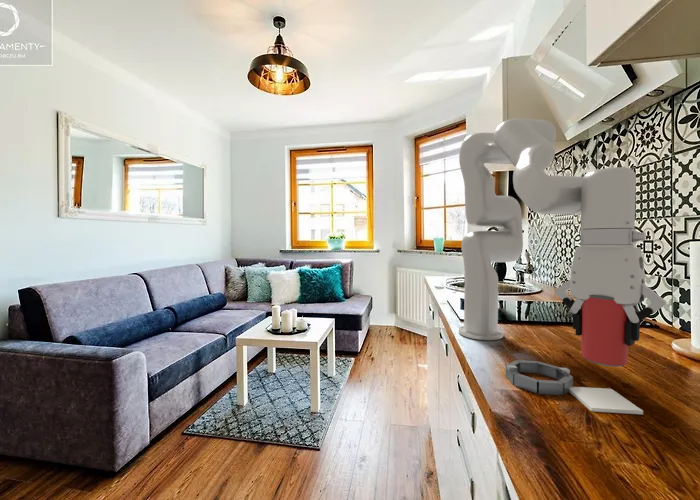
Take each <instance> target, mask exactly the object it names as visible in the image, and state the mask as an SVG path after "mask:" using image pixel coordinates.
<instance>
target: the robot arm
mask: <svg viewBox="0 0 700 500" xmlns="http://www.w3.org/2000/svg"><path fill="white" fill-rule="evenodd" d="M556 139H557V131H556V128H555V126H554V125H553V123H552V122H550V121H549V120H547V119H546V120H545V119H539V118H538V119H537V118H536V119H535V118H523V117H518V118H516V117H515V118H509V119H506V120H504V121H502V122H501V123H500V124H499V125H498V126H497V127H496V129H495V131H494V132H477V133H473V134H469V135H468V136H466V137H465V138H464V139H463V141H462V143H461V144H460V145H461V146H460V150H459V155H458V157H459V158H458V159H459V160H458V161H459V168H460V170H461V171H460V172H461V175H462V180H463V183H464V184H463V185H464V206H465V207H464V208H465V209H464V210H465V218H466V222H467V223H468V224H469V225H470V226H471V227H472V226H473V227H481V228H482V227H483V228H484V227H485V228H488V227H489V228H496V227H497V230H475V231H471V232H469V233H467V234H465V236H464V237H463V238H462V240H461V254H462V258H463V266H464V267H463V268H464V269H463V271H464V291H463V292H464V296H463V297H464V299H463V300H464V304H463V305H464V307H463V308H464V310H463V315H464V316H463V325H462V326H460V327H459V328H458V333H459V335H461V336H463V337H465V338H468V339H471V340H472V339H473V340H479V341H496V340H501V339H503V337H504V332H503V331H502V330H500V329H499V328H498V327H499V326H498V325H499V324H498V323H499V276H498V272H497V271H496V269H495V267H493V265H492V263H511V262H516V261H518V260H519V258H520V257H521V255H522V254H523V247H524V240H523V239H524V236H523V235H524V234H523V233H524V232H523V217H522V216H523V215H522V208H521V205H520V203H519V201H518V200H517V199H516V198H514V197H513V196H511V195H497V194H496V192H495V180H494V177H493V175H492V173H491V171H490V170H489V169H488V168H487V167H486V166H485V164H496V165H497V164H498V165H499V164H500V165H503V164H504V165H506V164H508V165H513V166H514V170H513V174H512V184H513V189H514V191H515V193H516V195H517V197H519V199H520V200H521V201H522V202H523V204H524V205H525V206H526V207H527V208H528V209H530V210H531V211H532V212H535V213H537V214H541V215H578V216H579V215H580V243H579V244H580V245H579V246H577V247H576V248H575V250H574V254H573V257H572V258H573V260H572V264H571V270H570V277H569V278H570V279H568V280H567V281H566V282H565V283H563V284H561V285H560V286H558V287H557V288H556V289H555V290H554V293H555V294H556V296H557V297H558V298H559V299H560V300H561V301H562V303H563V304H564V305H565V307H567V308H568V309H569V310H570V313H571V314H572V329H573V330H575V333H574V334H575V335H576V336H582V305H583V302H584V301H585V300H587V299H588V298H589V297H590V296H589V295H594V296H601V297H613V298H615V299H614V301H615V302H616V303H617V304H619V305H622V306H623V308H624V310H625V312H626V314H627V316H628V317H629V318H628V321H627V322H626V324H625V344H626V345H628V347H632V346H633V345H634V344H635V343H636V342H639V340H640V333H641V332H640V327H641V325H640V324H641V321H642V320H644V319H646V318H647V317H649V316H651V315H653V314H654V313H655V312H657V311H658V310H660V309H661V308H663V307H665V306H666V305H667V304H668V302H667V301H666V300H665V299H664V298H663V297H661V296H660V295H659V294H658V293H657V292H655V291H654V290H653V289H651V288H650V287H649V286H648V285H646V274H645V264H644V259H643V258H644V257H643V252H642V249H641V247H635V245H636V243H637V242H641V241H646V238H647V233H646V232H640V231H637V229H636V228H635V224H636V223H635V221H636V215H635V214H636V190H637V189H636V185H637V184H636V183H637V182H636V181H637V180H636V177H637V176H636V173H635V171H634V170H633V169H631V168H629V167H622V166H621V167H620V166H619V167H607V168H600V169H594V170H591V171H589V172H587V173H586V174H584V176H575V175H548V174H547V173H545V172H544V171H545V170H546V169H547V168H549V166H550V164H552V162H553V160H554V158H555V156H556V155H555V154H556V150H555V149H556V148H555V147H554V144H555V143H556ZM568 291H569V292H570V296H569V294H568V293H567V292H568ZM645 299H647V300H648V301H649V302H650V304H648V305H647V306H646V307H644V308H643V309H641V310H640V309H639V306H638V304H640V303H643V302H644V301H645Z"/></svg>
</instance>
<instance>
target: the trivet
mask: <svg viewBox="0 0 700 500" xmlns="http://www.w3.org/2000/svg"><path fill="white" fill-rule="evenodd" d="M568 393H570V394H571V395H572V396H573V397H575V399H577V400H578V401H579V402H581V404H582V405H584V406H585V407H586V408H587V409H588V410H589V411H591V412H594V413H595V412H598V413H614V414H615V413H616V414H627V415H628V414H630V415H644V410H643V409H642V408H640V407H638V406H637V405H635V404H634V403H632V402H631V401H630V400H628V399H627V398H625V397H624V396H623V395H621V394H620V393H618V392H617V391H615V390H613V389H612V388H605V387H604V388H603V387H586V386H573V387H570V388H569V392H568Z"/></svg>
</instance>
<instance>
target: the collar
mask: <svg viewBox="0 0 700 500" xmlns="http://www.w3.org/2000/svg"><path fill="white" fill-rule="evenodd" d="M521 373H526V374H527V373H528V374H529V373H530V374H531V373H532V374H539V375H543V376H546V377H549V378H552V379H556V380H548V379H547V380H545V379H536V378H533V377H531V376H527V375H524V374H521ZM570 373H571V370H570V369H569V368H568V367H560V366H556V365H552V364H549V363H545V362H541V361H537V360H524V359H523V360H519V359H517V360H513V361H511V362H509V363H507V364H505V376H506V377H505V378H507V379H508V381H509V382H510V383H511V384H512V385H513V386H515V387H517V388H521V389H523V390H526V391H529V392H532V393H534V394H539V395H552V396H553V395H554V396H566V394H568V393H570V392H569V388H570V387H574V377H573V375H571V374H570Z"/></svg>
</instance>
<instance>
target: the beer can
mask: <svg viewBox="0 0 700 500" xmlns="http://www.w3.org/2000/svg"><path fill="white" fill-rule="evenodd" d="M589 296H590V297H589V298H588V299H587V300H585V301H584V302H583V305H582V335H581V344H580V345H581V346H580V347H581V348H580V350H581V352H580V353H581V356H582V357H583V359H585V361H588V362H590V363H593V364H597V365H601V366H605V367H615V368H618V367H624V366H625V365H626V364H628V361H629V360H628V359H629V355H628V352H629V346H628V345H626V344H625V324H626V322H627V321H628V318H629V317H628V316H627V314H626V312H625V310H624V308H623V306H622V305H619V304H617V303H616V302H615V301H614V299H615V298H613V297H601V296H594V295H589Z"/></svg>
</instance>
